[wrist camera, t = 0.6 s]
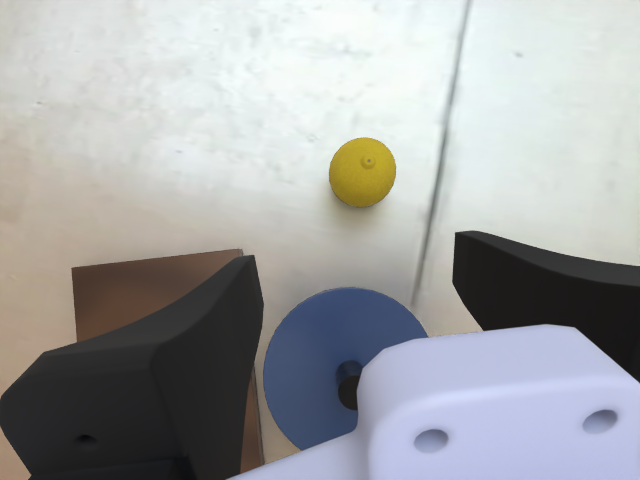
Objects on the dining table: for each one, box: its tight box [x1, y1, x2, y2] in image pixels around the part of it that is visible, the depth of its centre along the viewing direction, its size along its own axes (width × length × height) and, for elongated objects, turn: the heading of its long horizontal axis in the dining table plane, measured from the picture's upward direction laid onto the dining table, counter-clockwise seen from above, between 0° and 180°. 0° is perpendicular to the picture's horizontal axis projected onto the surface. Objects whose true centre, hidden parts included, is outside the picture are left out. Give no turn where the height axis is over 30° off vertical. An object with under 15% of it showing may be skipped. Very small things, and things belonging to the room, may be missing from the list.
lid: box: [263, 287, 428, 451], centre depth 26 cm, size 14×14×4 cm
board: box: [72, 249, 264, 474], centre depth 31 cm, size 20×15×2 cm
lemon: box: [329, 138, 396, 207], centre depth 29 cm, size 6×6×8 cm
